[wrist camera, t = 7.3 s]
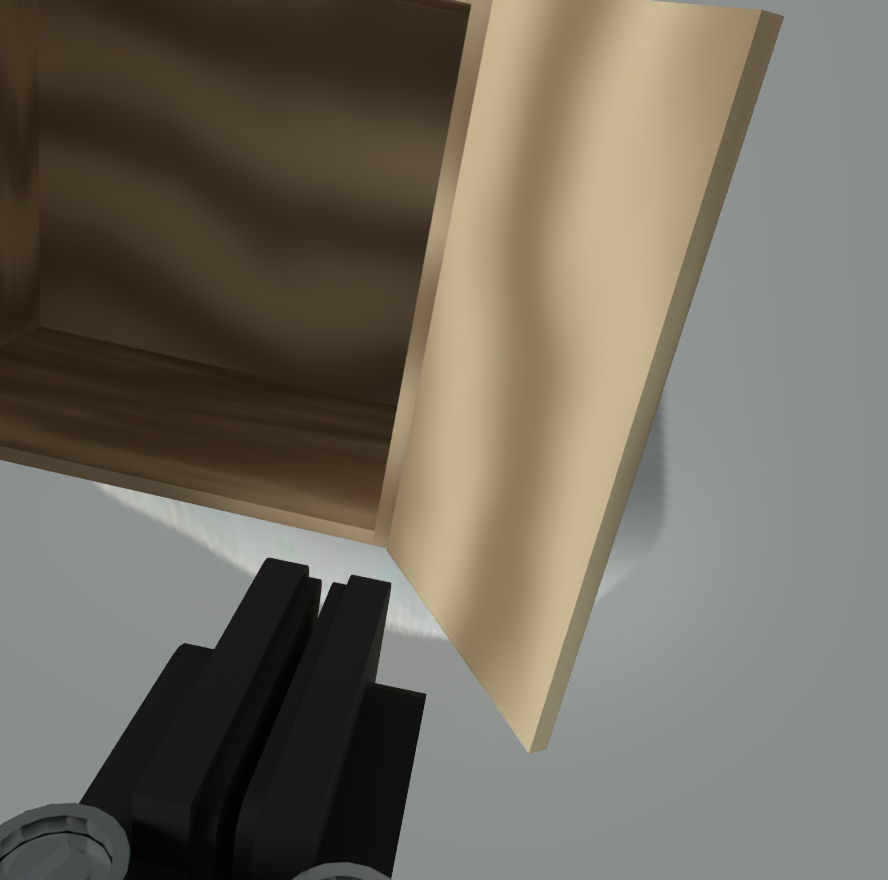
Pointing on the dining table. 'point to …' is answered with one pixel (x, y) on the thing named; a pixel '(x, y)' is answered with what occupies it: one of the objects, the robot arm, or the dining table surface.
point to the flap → (563, 316)
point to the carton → (228, 243)
